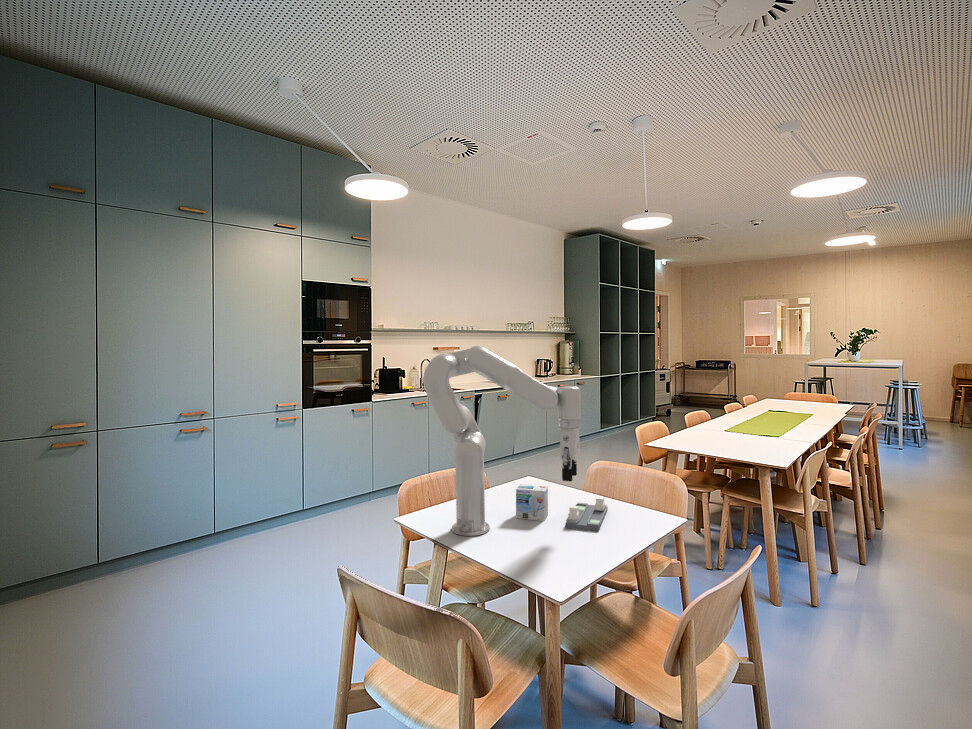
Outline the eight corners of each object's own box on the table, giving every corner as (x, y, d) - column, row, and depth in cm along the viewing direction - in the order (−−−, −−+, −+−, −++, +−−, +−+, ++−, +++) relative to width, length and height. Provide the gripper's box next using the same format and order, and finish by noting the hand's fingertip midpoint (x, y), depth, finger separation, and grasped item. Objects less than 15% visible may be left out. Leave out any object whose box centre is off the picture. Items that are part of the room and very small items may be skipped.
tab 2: (603, 510, 180) (603, 499, 179) (595, 510, 181) (595, 499, 181) (605, 507, 183) (605, 496, 183) (596, 506, 184) (596, 496, 184)
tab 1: (577, 520, 169) (577, 509, 169) (568, 519, 170) (568, 508, 170) (579, 517, 173) (579, 505, 173) (570, 516, 174) (570, 504, 174)
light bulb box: (515, 518, 178) (515, 488, 178) (519, 513, 184) (519, 483, 184) (545, 521, 175) (545, 490, 175) (548, 515, 181) (548, 485, 181)
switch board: (599, 531, 164) (599, 525, 164) (565, 527, 168) (565, 521, 168) (607, 510, 186) (607, 504, 186) (577, 507, 190) (577, 502, 190)
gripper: (575, 428, 155) (576, 485, 155) (585, 420, 171) (585, 472, 172) (551, 427, 158) (552, 483, 158) (563, 420, 174) (563, 471, 174)
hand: (569, 477), depth 165 cm, fingers open, 6 cm apart
